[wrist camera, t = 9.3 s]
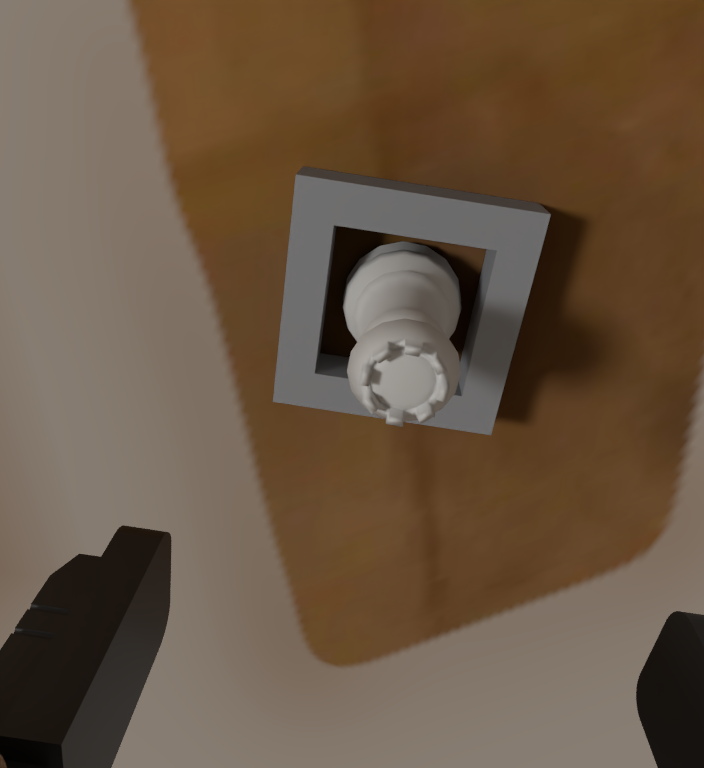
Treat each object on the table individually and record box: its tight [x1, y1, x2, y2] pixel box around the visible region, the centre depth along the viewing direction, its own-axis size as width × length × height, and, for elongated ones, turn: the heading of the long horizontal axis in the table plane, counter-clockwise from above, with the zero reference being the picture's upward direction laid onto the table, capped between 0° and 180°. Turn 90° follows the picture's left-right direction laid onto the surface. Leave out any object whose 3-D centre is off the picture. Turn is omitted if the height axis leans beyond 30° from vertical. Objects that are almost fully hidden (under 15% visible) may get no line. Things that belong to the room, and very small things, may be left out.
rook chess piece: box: [343, 241, 462, 427], centre depth 22 cm, size 4×4×8 cm
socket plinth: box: [273, 166, 551, 435], centre depth 24 cm, size 8×8×2 cm
